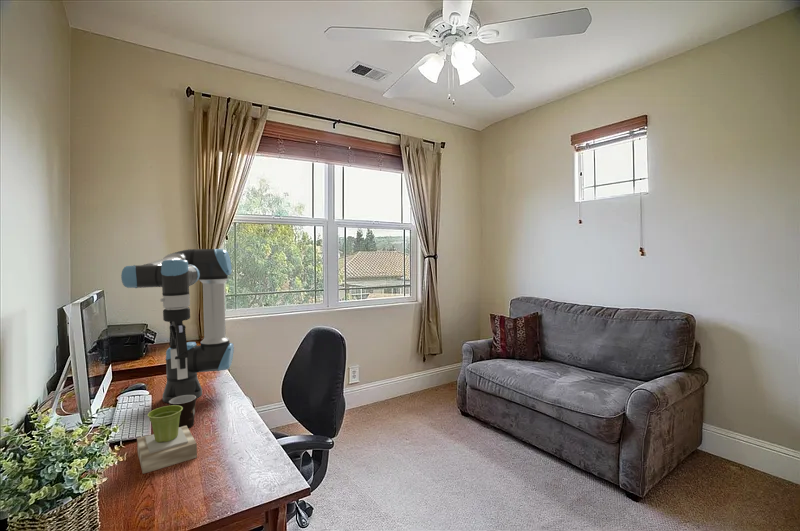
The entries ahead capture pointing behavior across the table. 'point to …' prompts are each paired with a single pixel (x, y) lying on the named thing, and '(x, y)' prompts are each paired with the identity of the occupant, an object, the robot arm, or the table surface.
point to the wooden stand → (166, 450)
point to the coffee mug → (185, 409)
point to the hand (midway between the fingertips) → (179, 373)
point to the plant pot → (165, 422)
